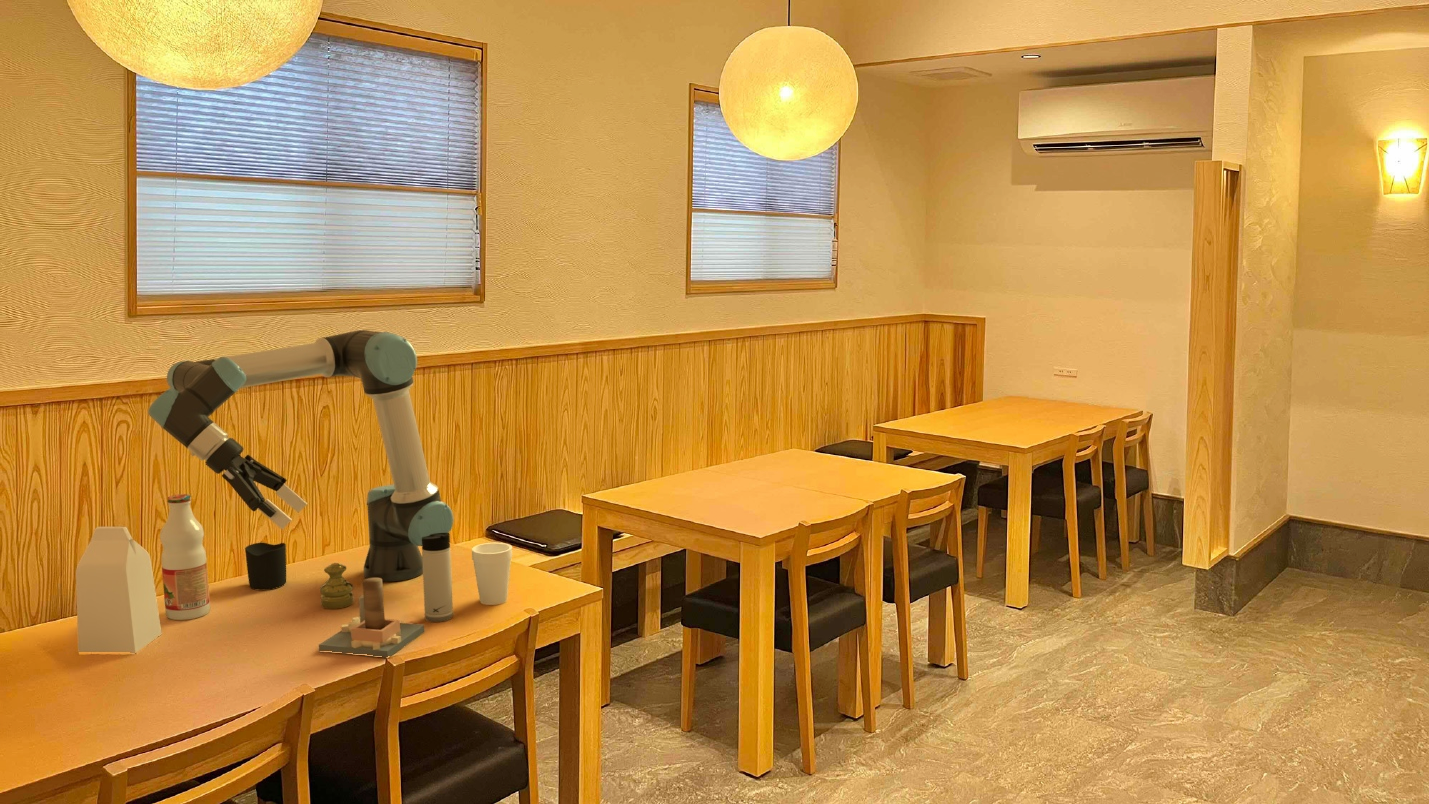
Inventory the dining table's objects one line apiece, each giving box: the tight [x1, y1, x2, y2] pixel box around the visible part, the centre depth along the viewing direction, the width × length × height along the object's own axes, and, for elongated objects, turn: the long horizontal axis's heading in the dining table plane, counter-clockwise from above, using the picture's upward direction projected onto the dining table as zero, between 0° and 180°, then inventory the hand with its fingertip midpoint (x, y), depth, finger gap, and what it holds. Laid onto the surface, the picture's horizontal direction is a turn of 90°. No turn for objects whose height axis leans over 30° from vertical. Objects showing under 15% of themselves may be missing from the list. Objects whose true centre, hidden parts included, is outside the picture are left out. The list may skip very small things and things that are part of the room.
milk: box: [75, 526, 163, 653], centre depth 242 cm, size 12×12×26 cm
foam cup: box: [471, 542, 513, 606], centre depth 271 cm, size 10×9×13 cm
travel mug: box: [421, 532, 454, 623], centre depth 259 cm, size 6×7×20 cm
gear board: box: [318, 595, 426, 657], centre depth 245 cm, size 16×16×9 cm
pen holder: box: [244, 542, 287, 590], centre depth 283 cm, size 9×9×10 cm
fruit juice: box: [159, 493, 211, 621], centre depth 261 cm, size 9×9×28 cm
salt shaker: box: [319, 562, 354, 610], centre depth 269 cm, size 7×7×10 cm
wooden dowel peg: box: [361, 578, 386, 630], centre depth 241 cm, size 4×4×12 cm
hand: (295, 516), depth 243 cm, fingers open, 13 cm apart
